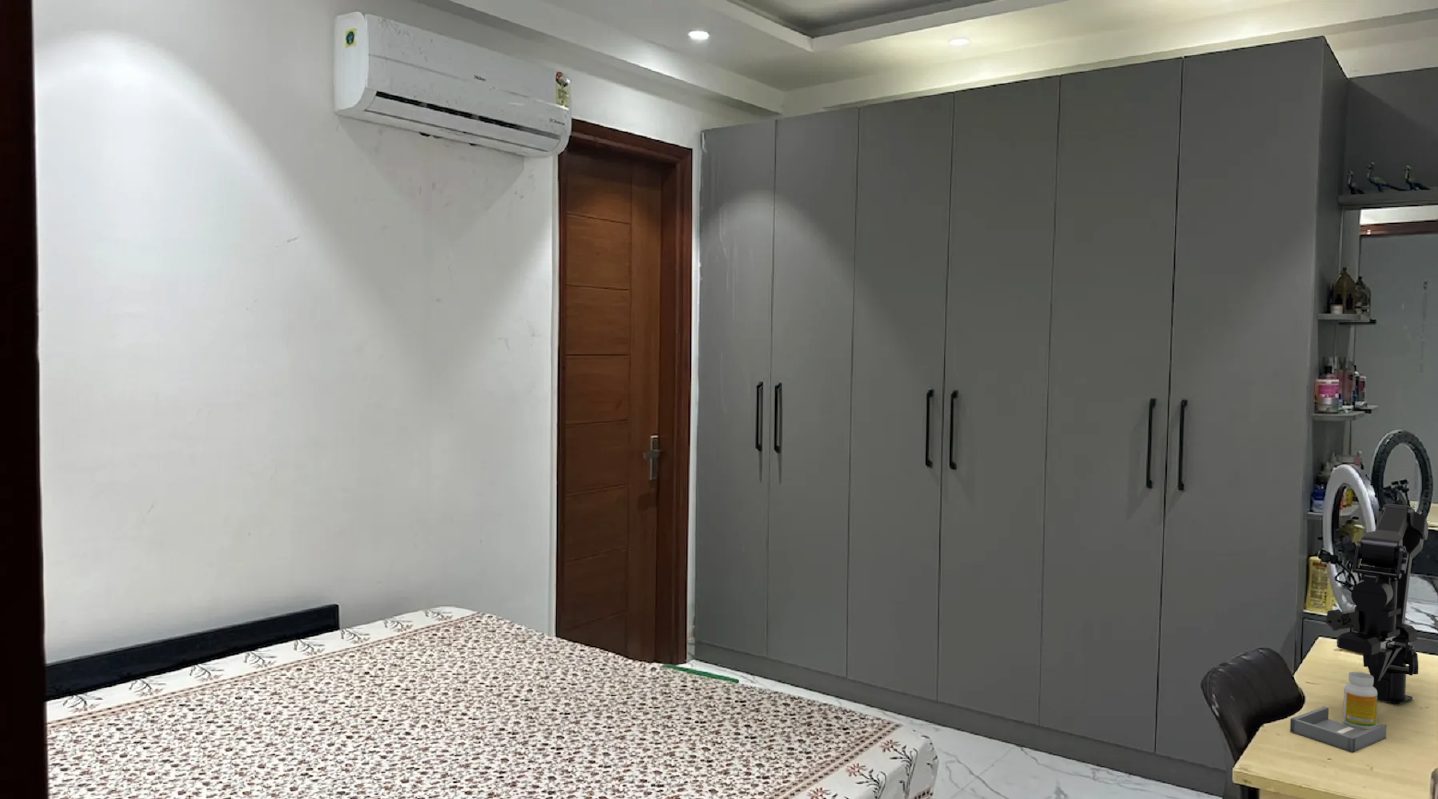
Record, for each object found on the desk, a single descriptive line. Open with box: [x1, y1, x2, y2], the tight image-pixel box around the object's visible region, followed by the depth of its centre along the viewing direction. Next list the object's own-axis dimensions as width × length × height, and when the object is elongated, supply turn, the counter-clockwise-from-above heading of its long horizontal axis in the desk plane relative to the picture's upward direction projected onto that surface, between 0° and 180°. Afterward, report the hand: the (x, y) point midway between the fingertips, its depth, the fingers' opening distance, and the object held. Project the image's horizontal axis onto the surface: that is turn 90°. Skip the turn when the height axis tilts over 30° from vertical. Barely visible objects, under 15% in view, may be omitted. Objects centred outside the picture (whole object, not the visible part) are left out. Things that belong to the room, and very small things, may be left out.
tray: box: [1289, 706, 1387, 753], centre depth 182 cm, size 12×11×2 cm
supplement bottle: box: [1342, 671, 1378, 730], centre depth 187 cm, size 5×5×10 cm
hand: (1375, 680), depth 190 cm, fingers closed
